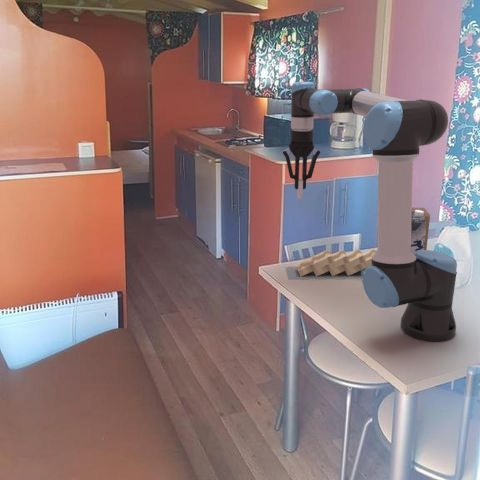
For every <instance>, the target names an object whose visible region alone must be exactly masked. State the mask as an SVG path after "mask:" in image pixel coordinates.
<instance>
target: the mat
mask: <svg viewBox="0 0 480 480" xmlns="http://www.w3.org/2000/svg"><path fill="white" fill-rule="evenodd" d="M284 268H285V271H286V276H287V280H362V276H360V274H359V272H356V273H354V274H351V275H349V276H348V275H347V273H346V271H343V272H341V273H339V274H336V275H334V276H332V275H331V273H330V271H327V272H325V273H323V274H321V275H319V276H316V275H315V273H314V271H312V272H310V273H308V274H305V275H303V276H300V274H299V272H298V269H297V266H295V267H293V266H292V267H291V266H290V267H289V266H287V267H286V266H285V267H284Z"/></svg>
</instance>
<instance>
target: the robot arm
mask: <svg viewBox="0 0 480 480" xmlns="http://www.w3.org/2000/svg"><path fill="white" fill-rule="evenodd" d="M291 85H292V86H291V93H290V98H291V100H290V104H291V105H290V109H291V111H290V114H291V115H290V128H291V130H290V143H289V145H288V147H287V148H286V149H283V150H282V154H283V156H284V157H285V162H286V166H287V170H288V174H289V178H290V179H292V180H294V190H297V191H296V192H297V197H296V198H297V200H303V194H304V193H303V191H304V190H306V189H307V180H308V179H312V177H313V173H314V169H315V167H316V163H317V159H318V157H319V156H320V154H321V151H320V150H319V149H317V148H316V147H315V145H314V131H313V129H314V116H315V115H318V116H330V115H331V114H353V115H354V114H355V115H357V116H362V117H363V118H365V119H364V121H363V127H362V136H363V140H364V141H365V145H366V146H367V147H368V148H369V149H371V150H372V157H373V158H374V159H375V160H376V161H377V162H378V165H377V166H378V168H377V169H378V171H377V172H378V173H377V175H378V176H377V179H378V180H377V187H378V188H377V193H378V194H377V250H376V251H377V252H376V253H375V254H374V255H372V266H369V267H367V268H366V269H365V271H364V272H363V276H362V279H361V280H362V281H361V282H362V286H363V290H364V292H365V295H366V296H367V298H368V299H369V300H370V302H371V303H372V304H373V305H374V306H376V307H378V308H382V309H387V308H396V307H399V306H403V305H406V308H405V310H404V311H403V313H402V316H401V319H400V330H402V331H403V332H404V333H405V334H406V335H408V336H411V337H412V338H415V339H418V340H422V341H427V342H443V341H448V340H451V339H452V338H454V337H455V335H456V332H457V331H456V330H457V324H456V320H455V316H454V311H453V300H454V294H455V287H456V280H457V274H458V272H457V268H458V263H457V260H456V259H455V258H454V257H453V256H451V255H449V254H446V253H443V252H440V251H436V250H429V249H427V250H417V251H415V253H414V255H413V254H412V253H411V214H412V208H413V206H412V205H413V172H414V170H413V167H414V163H413V162H414V160H416V158H418V156H419V155H420V147H422V146H428V145H432V144H434V143H436V142H437V141H438V140H439V139H441V138H442V137H443V136H444V135H445V133H446V131H447V128H448V125H449V116H448V113H447V110H446V109H445V107H444V106H443V105H442V104H441V103H439V102H437V101H435V100H430V99H429V100H428V99H421V98H418V99H415V100H408V99H403V98H398V97H395V96H394V97H393V96H389V95H386V94H385V95H384V94H380V93H375V92H371V91H370V90H369V89H368V88H363V87H356V88H336V89H332V88H329V89H327V88H326V89H317V88H316V85H315V83H314V82H313V81H295V82H293V83H292V84H291ZM290 152H291V153H292V155H293V157H294V171H293V169H292V163H291V159H290V154H291V153H290ZM311 153H312V157H311V160H310V164H309V167H308V168H307V166H308V156H310V154H311ZM300 158H302V169H301V171H302V172H301V178H299V177H300ZM307 169H308V170H307Z"/></svg>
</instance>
